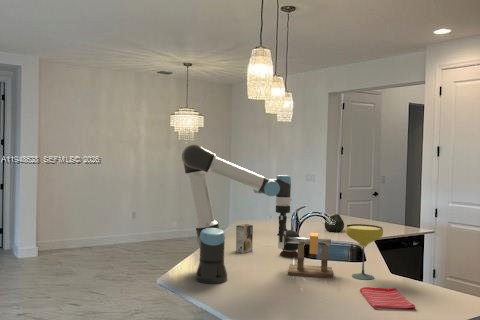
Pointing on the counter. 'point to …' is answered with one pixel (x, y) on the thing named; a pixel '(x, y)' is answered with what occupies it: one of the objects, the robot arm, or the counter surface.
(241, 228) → the coffee box
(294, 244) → the black stacked round piece
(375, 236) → the cocktail glass
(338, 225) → the squash
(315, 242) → the collar
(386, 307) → the dish towel
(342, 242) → the counter surface
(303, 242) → the shaft
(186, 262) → the counter surface
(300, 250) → the stand
